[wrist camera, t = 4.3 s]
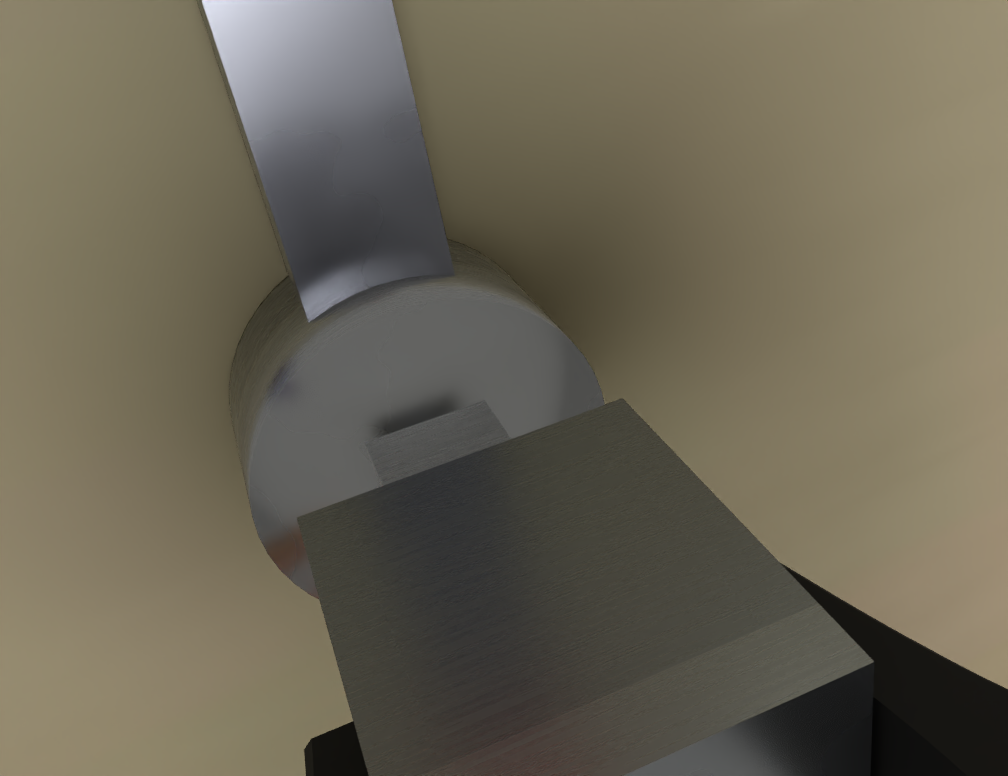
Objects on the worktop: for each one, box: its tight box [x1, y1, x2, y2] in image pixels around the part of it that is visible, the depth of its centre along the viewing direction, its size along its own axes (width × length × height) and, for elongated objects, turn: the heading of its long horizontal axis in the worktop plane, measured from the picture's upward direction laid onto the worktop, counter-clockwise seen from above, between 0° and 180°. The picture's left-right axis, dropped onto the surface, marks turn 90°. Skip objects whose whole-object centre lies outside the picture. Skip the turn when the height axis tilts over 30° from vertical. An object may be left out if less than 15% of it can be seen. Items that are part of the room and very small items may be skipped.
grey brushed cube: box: [297, 398, 874, 776], centre depth 11 cm, size 4×4×5 cm
